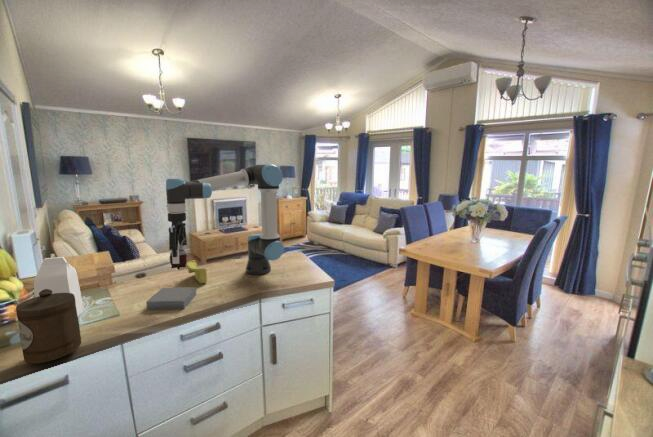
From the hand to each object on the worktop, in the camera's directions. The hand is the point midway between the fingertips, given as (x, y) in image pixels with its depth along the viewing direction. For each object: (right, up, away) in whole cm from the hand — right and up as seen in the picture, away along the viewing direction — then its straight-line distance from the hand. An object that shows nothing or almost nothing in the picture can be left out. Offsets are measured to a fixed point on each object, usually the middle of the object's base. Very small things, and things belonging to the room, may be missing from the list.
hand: (179, 261), depth 142 cm
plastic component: (-6, -15, +30) cm, 35 cm away
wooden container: (-25, -26, -37) cm, 52 cm away
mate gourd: (0, -3, 0) cm, 3 cm away
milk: (-43, -22, -14) cm, 50 cm away
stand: (-4, -20, +2) cm, 20 cm away
